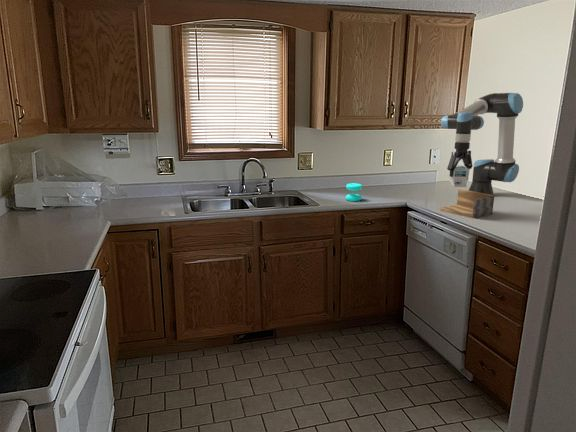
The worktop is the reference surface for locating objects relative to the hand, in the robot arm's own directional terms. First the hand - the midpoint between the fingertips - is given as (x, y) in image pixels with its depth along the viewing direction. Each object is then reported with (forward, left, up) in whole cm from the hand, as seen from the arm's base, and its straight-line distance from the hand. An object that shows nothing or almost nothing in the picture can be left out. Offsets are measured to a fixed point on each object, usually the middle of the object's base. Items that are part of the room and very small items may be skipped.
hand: (458, 181), depth 243 cm
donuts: (+27, -55, -17) cm, 64 cm away
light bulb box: (0, 0, -3) cm, 3 cm away
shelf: (-2, +5, -17) cm, 18 cm away
